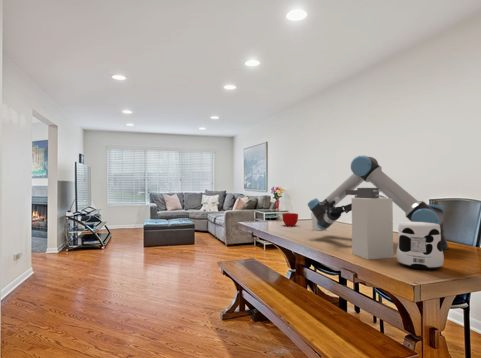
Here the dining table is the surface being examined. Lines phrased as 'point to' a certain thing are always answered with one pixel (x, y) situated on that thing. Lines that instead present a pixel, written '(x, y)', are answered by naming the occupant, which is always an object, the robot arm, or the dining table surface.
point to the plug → (364, 192)
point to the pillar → (372, 227)
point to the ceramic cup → (290, 219)
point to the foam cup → (314, 222)
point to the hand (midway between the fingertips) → (350, 198)
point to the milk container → (420, 245)
